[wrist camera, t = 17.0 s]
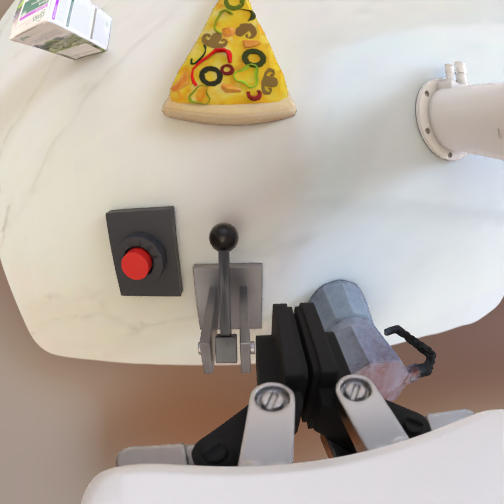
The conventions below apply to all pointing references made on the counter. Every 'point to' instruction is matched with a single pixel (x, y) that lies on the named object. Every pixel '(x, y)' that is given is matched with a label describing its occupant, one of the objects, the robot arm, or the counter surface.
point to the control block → (153, 241)
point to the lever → (224, 291)
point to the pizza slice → (230, 73)
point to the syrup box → (62, 27)
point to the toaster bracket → (242, 308)
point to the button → (136, 263)
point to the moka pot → (368, 339)
